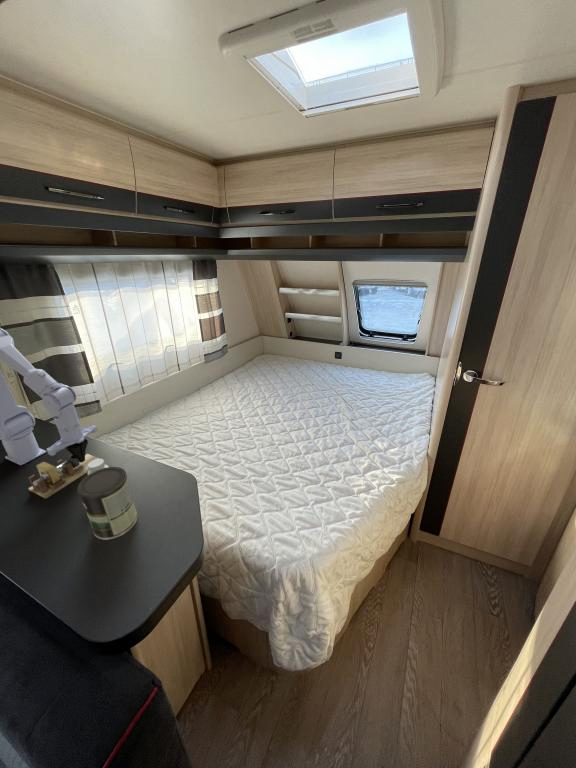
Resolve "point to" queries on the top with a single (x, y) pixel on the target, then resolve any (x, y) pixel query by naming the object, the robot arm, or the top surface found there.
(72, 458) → the shaft
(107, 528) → the coffee can
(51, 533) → the top surface
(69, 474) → the bearing bed
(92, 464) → the supplement bottle
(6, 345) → the robot arm
